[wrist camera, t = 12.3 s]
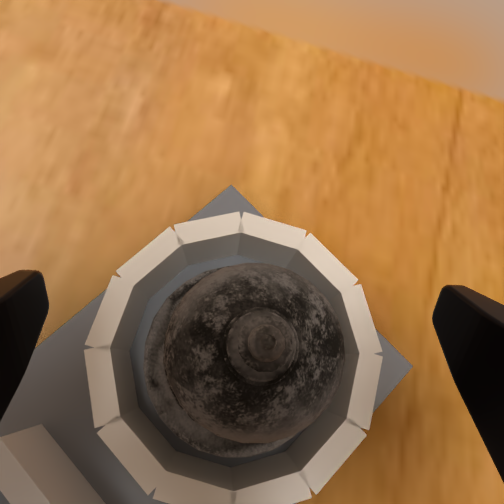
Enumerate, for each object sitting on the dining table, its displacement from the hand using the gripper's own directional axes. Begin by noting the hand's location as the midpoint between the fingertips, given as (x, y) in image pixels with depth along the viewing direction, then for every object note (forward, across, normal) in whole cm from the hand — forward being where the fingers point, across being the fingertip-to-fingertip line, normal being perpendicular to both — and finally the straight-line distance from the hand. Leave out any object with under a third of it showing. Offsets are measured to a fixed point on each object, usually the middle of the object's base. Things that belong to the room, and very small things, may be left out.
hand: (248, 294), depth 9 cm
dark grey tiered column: (+5, 0, +6) cm, 8 cm away
